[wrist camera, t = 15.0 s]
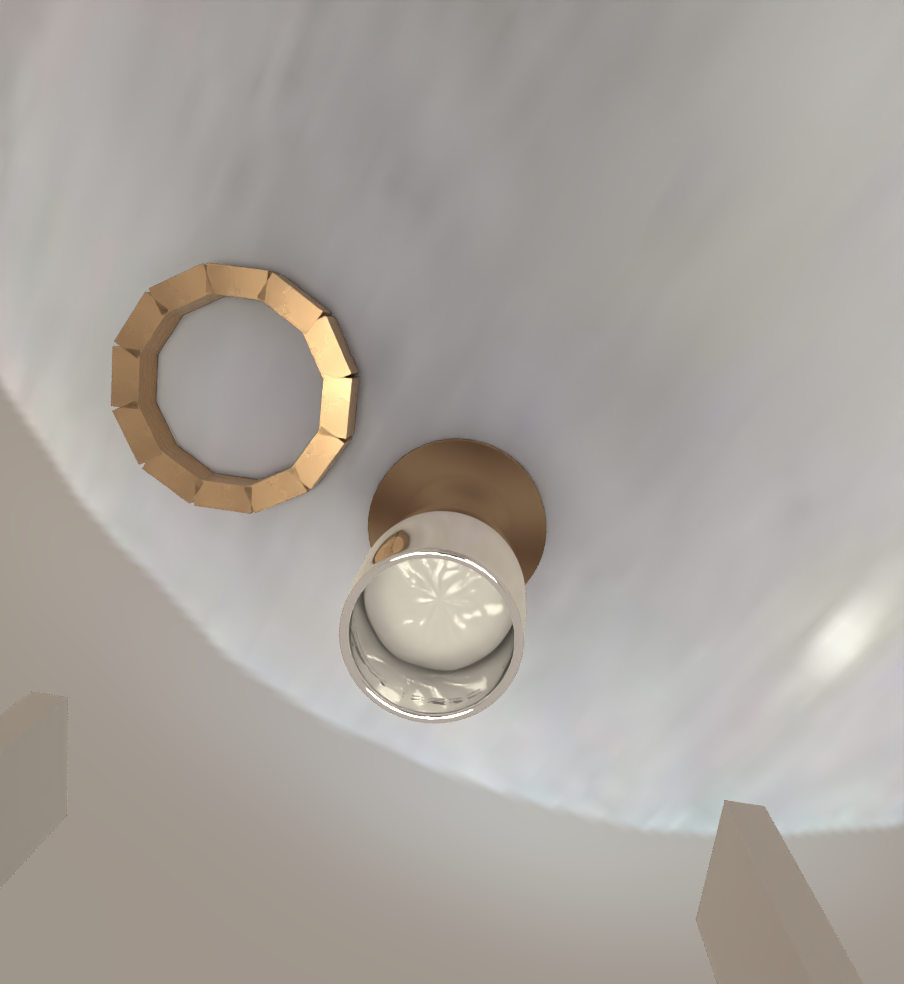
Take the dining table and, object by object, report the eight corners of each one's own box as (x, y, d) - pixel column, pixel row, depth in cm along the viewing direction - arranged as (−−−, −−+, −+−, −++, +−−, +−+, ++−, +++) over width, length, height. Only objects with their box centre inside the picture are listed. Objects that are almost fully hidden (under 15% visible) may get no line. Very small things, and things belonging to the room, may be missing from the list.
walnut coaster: (381, 427, 39) (378, 429, 38) (558, 451, 39) (559, 454, 38) (362, 594, 42) (359, 600, 41) (530, 619, 41) (531, 626, 40)
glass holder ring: (134, 255, 38) (115, 250, 36) (368, 286, 38) (361, 282, 36) (127, 486, 41) (108, 493, 39) (345, 517, 41) (337, 526, 39)
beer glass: (375, 556, 40) (302, 679, 25) (426, 447, 38) (380, 510, 24) (485, 608, 40) (477, 759, 25) (540, 501, 39) (565, 597, 24)
